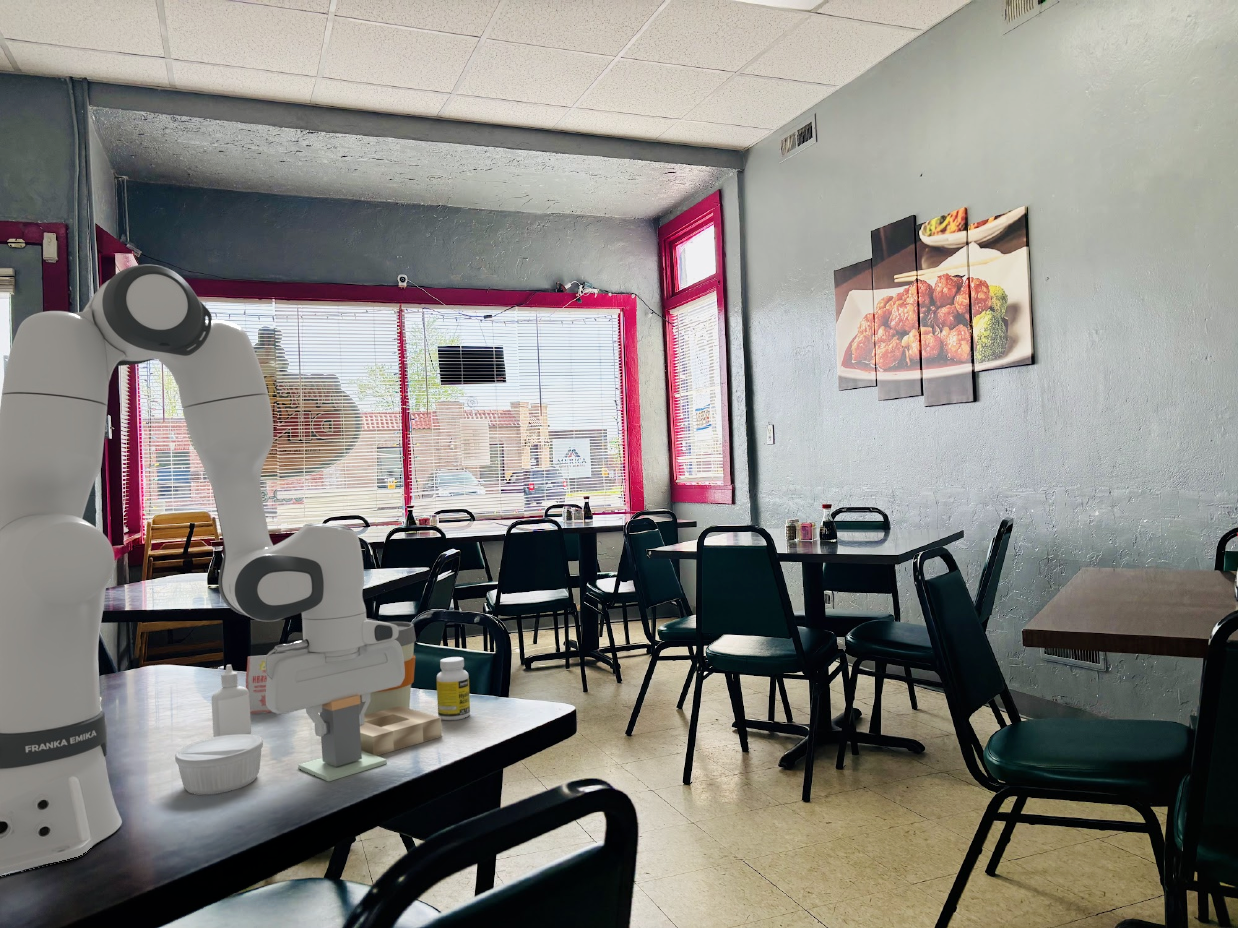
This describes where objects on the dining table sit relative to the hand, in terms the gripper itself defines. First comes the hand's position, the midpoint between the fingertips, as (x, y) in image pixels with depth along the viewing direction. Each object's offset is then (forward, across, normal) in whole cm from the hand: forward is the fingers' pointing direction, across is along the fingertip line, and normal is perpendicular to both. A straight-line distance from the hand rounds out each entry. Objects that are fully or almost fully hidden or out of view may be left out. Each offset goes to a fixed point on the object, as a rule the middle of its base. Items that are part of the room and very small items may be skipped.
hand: (340, 730), depth 129 cm
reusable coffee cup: (+5, +19, +21) cm, 29 cm away
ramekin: (+6, -14, +8) cm, 17 cm away
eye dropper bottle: (+5, -4, +29) cm, 30 cm away
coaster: (+5, 0, 0) cm, 5 cm away
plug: (+4, 0, 0) cm, 4 cm away
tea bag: (+5, +8, +42) cm, 43 cm away
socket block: (+5, +11, +6) cm, 14 cm away
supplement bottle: (+5, +25, +8) cm, 27 cm away
